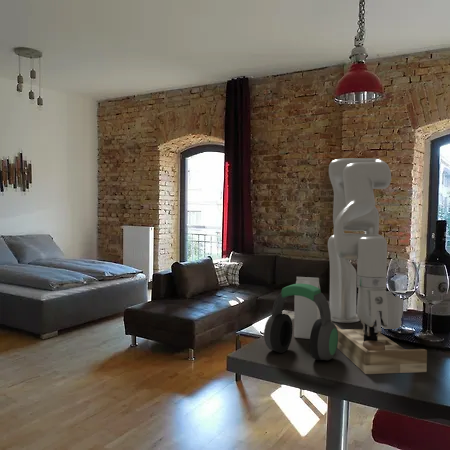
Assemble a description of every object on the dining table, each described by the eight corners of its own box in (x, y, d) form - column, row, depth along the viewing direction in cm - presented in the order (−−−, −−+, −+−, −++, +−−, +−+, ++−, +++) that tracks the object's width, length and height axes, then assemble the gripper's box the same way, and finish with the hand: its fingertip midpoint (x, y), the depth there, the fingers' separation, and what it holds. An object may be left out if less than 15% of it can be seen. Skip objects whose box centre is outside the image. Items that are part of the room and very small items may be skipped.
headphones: (339, 355, 127) (340, 285, 126) (326, 367, 118) (327, 291, 117) (278, 344, 137) (278, 278, 136) (261, 354, 128) (261, 284, 127)
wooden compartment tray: (325, 336, 145) (325, 319, 145) (373, 335, 147) (373, 318, 147) (365, 374, 114) (365, 352, 113) (426, 371, 115) (427, 350, 115)
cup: (405, 332, 151) (406, 296, 150) (380, 331, 152) (381, 295, 152) (401, 326, 158) (401, 291, 158) (377, 324, 160) (377, 291, 159)
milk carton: (298, 332, 151) (298, 275, 150) (319, 334, 149) (320, 276, 148) (294, 337, 144) (294, 278, 143) (316, 340, 142) (317, 279, 141)
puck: (359, 355, 121) (359, 340, 121) (380, 355, 121) (380, 340, 121) (366, 362, 115) (366, 347, 115) (388, 362, 116) (388, 347, 115)
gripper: (398, 287, 115) (396, 358, 116) (373, 277, 130) (372, 340, 131) (369, 287, 115) (368, 359, 115) (347, 277, 129) (346, 341, 130)
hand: (370, 349), depth 123 cm, fingers closed
